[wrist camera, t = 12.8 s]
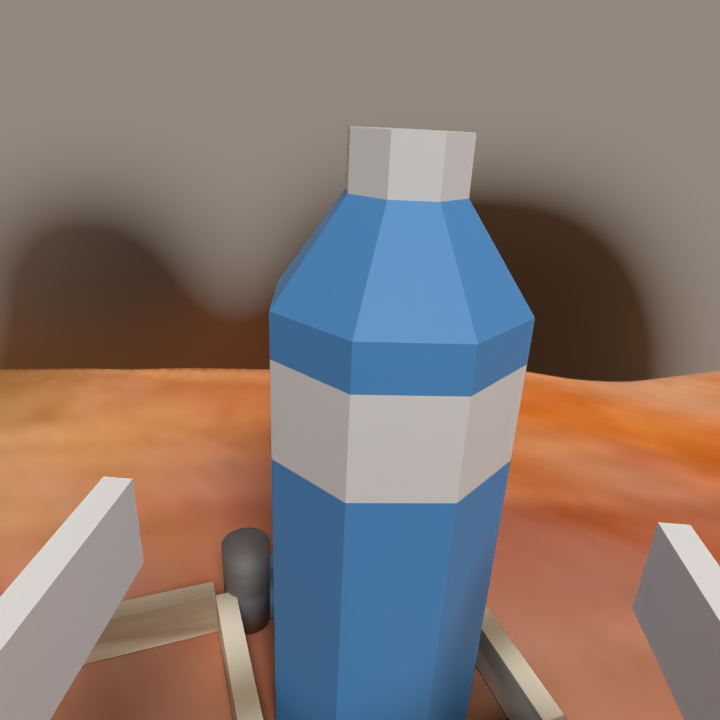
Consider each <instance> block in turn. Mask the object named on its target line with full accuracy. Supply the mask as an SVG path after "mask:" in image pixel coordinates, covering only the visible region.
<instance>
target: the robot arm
mask: <svg viewBox="0 0 720 720" xmlns="http://www.w3.org/2000/svg"><path fill="white" fill-rule="evenodd" d="M143 564H144V561H143V554H142V546H141V538H140V531H139V523H138V515H137V508H136V500H135V492H134V485H133V479H128V478H116V477H103V478H102V479H101V480H100V481H99V483H98V484H97V485H96V486H95V487H94V488H93V490H92V491H91V492H90V493H89V494H88V495H87V497H86V498H85V499H84V500H83V501H82V502H81V503H80V505H79V506H78V507H77V508H76V509H75V510H74V512H73V513H72V514H71V515H70V516H69V517H68V519H67V520H66V521H65V522H64V523H63V524H62V526H61V527H60V528H59V529H58V530H57V531H56V533H55V534H54V535H53V536H52V537H51V538H50V540H49V541H48V542H47V543H46V544H45V545H44V547H43V548H42V549H41V550H40V551H39V552H38V554H37V555H36V556H35V557H34V558H33V559H32V561H31V562H30V563H29V564H28V565H27V566H26V568H25V569H24V570H23V571H22V572H21V573H20V574H19V576H18V577H17V578H16V579H15V580H14V581H13V583H12V584H11V585H10V586H9V587H8V588H7V590H6V591H5V592H4V593H3V594H2V595H1V597H0V720H50V719H51V718H52V716H53V714H54V713H55V711H56V709H57V708H58V706H59V704H60V703H61V701H62V699H63V698H64V696H65V694H66V693H67V691H68V689H69V688H70V686H71V684H72V682H73V681H74V679H75V677H76V676H77V674H78V672H79V671H80V669H81V667H82V666H83V664H84V662H85V661H86V659H87V657H88V656H89V654H90V652H91V651H92V649H93V647H94V646H95V644H96V642H97V641H98V639H99V637H100V636H101V634H102V632H103V631H104V629H105V627H106V626H107V624H108V622H109V621H110V619H111V617H112V616H113V614H114V612H115V611H116V609H117V607H118V606H119V604H120V602H121V601H122V599H123V597H124V596H125V594H126V592H127V591H128V589H129V587H130V586H131V584H132V582H133V581H134V579H135V577H136V576H137V574H138V572H139V571H140V569H141V567H142V566H143ZM632 608H633V610H634V612H635V615H636V617H637V619H638V621H639V623H640V625H641V628H642V630H643V632H644V634H645V636H646V638H647V641H648V643H649V645H650V647H651V649H652V651H653V653H654V656H655V658H656V660H657V662H658V664H659V666H660V669H661V671H662V673H663V675H664V677H665V679H666V682H667V684H668V686H669V688H670V690H671V692H672V695H673V697H674V699H675V701H676V703H677V705H678V707H679V710H680V712H681V714H682V716H683V718H684V720H720V567H719V565H718V564H717V562H716V561H715V559H714V558H713V557H712V555H711V554H710V552H709V551H708V550H707V548H706V547H705V545H704V544H703V542H702V541H701V540H700V538H699V537H698V535H697V534H696V532H695V531H694V530H693V528H692V527H691V525H684V524H672V523H660V522H658V524H657V527H656V531H655V534H654V537H653V541H652V544H651V547H650V551H649V554H648V557H647V561H646V564H645V567H644V571H643V574H642V577H641V581H640V584H639V587H638V591H637V594H636V597H635V601H634V604H633V607H632Z"/></svg>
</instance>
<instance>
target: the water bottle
mask: <svg viewBox="0 0 720 720" xmlns="http://www.w3.org/2000/svg"><path fill="white" fill-rule="evenodd" d="M475 140H476V133H471V132H456V131H438V130H420V129H400V128H379V127H377V128H376V127H353V126H349V127H348V144H347V174H346V189H345V190H344V191H343V193H342V194H341V196H340V197H339V198H338V200H337V201H336V202H335V204H334V205H333V207H332V208H331V209H330V211H329V212H328V214H327V215H326V216H325V218H324V219H323V220H322V222H321V223H320V225H319V226H318V227H317V229H316V230H315V231H314V233H313V234H312V236H311V237H310V238H309V240H308V241H307V242H306V244H305V245H304V246H303V248H302V249H301V251H300V252H299V253H298V255H297V256H296V257H295V259H294V260H293V262H292V263H291V264H290V266H289V267H288V268H287V270H286V271H285V273H284V274H283V275H282V277H281V278H280V279H279V281H278V283H277V286H276V290H275V293H274V297H273V300H272V304H271V307H270V310H269V327H270V389H271V450H272V511H273V572H274V633H275V694H276V720H466V717H467V711H468V705H469V699H470V693H471V688H472V682H473V676H474V670H475V664H476V658H477V653H478V647H479V641H480V635H481V629H482V623H483V618H484V612H485V606H486V600H487V594H488V588H489V583H490V577H491V571H492V565H493V559H494V553H495V548H496V542H497V536H498V530H499V524H500V518H501V513H502V507H503V501H504V495H505V489H506V483H507V478H508V472H509V466H510V460H511V454H512V448H513V443H514V437H515V431H516V425H517V419H518V413H519V408H520V402H521V396H522V390H523V384H524V378H525V373H526V366H527V361H528V355H529V349H530V343H531V338H532V332H533V326H534V320H535V318H534V316H533V314H532V312H531V310H530V308H529V307H528V305H527V303H526V301H525V300H524V298H523V296H522V294H521V292H520V291H519V289H518V287H517V285H516V283H515V281H514V280H513V278H512V276H511V274H510V272H509V270H508V269H507V267H506V265H505V263H504V261H503V260H502V258H501V256H500V254H499V252H498V251H497V249H496V247H495V245H494V243H493V241H492V240H491V238H490V236H489V234H488V232H487V231H486V229H485V227H484V225H483V223H482V221H481V220H480V218H479V216H478V214H477V212H476V211H475V209H474V207H473V205H472V204H471V202H470V200H469V193H470V184H471V175H472V167H473V158H474V149H475Z"/></svg>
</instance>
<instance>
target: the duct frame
mask: <svg viewBox="0 0 720 720" xmlns="http://www.w3.org/2000/svg"><path fill="white" fill-rule="evenodd" d="M222 559H223V575H224V591H225V593H223V594H219V595H216V594H215V589H214V583H213V582H208V583H203V584H199V585H194V586H190V587H185V588H180V589H176V590H171V591H167V592H162V593H157V594H153V595H148V596H144V597H139V598H135V599H130V600H125V601H121V602H120V604H119V606H118V607H117V609H116V611H115V612H114V614H113V616H112V617H111V619H110V621H109V622H108V624H107V626H106V627H105V629H104V631H103V632H102V634H101V636H100V637H99V639H98V641H97V642H96V644H95V646H94V647H93V649H92V651H91V652H90V654H89V656H88V657H87V659H86V661H85V662H84V664H88V663H92V662H96V661H100V660H104V659H108V658H112V657H116V656H120V655H124V654H129V653H133V652H137V651H141V650H145V649H149V648H153V647H157V646H161V645H165V644H169V643H173V642H177V641H181V640H185V639H189V638H193V637H197V636H201V635H205V634H209V633H214V632H218V633H219V639H220V645H221V651H222V657H223V663H224V669H225V676H226V682H227V688H228V694H229V700H230V706H231V712H232V718H233V720H263V716H262V711H261V707H260V702H259V697H258V693H257V688H256V684H255V679H254V674H253V670H252V665H251V660H250V656H249V651H248V647H247V642H246V637H245V635H247V634H253V633H256V632H259V631H260V630H262V629H263V628H265V627H266V626H267V624H268V623H269V621H270V618H274V572H273V554H270V540H269V537H268V535H267V534H266V533H265V532H263V531H262V530H259V529H256V528H241V529H238V530H235V531H233V532H231V533H229V534H228V535H227V536H226V537H225V538H224V540H223V542H222ZM84 664H83V665H84ZM475 665H476V667H477V669H478V670H479V672H480V673H481V675H482V677H483V678H484V680H485V682H486V683H487V685H488V686H489V688H490V690H491V691H492V693H493V695H494V696H495V698H496V699H497V701H498V703H499V704H500V706H501V707H502V709H503V711H504V712H505V714H506V716H507V717H508V719H509V720H568V719H567V718H566V717H565V715H564V714H563V712H562V711H561V710H560V708H559V707H558V705H557V704H556V703H555V701H554V700H553V698H552V697H551V696H550V694H549V693H548V691H547V690H546V689H545V687H544V686H543V684H542V683H541V682H540V680H539V679H538V677H537V676H536V675H535V673H534V672H533V670H532V669H531V668H530V666H529V665H528V663H527V662H526V661H525V659H524V658H523V656H522V655H521V654H520V652H519V651H518V649H517V648H516V647H515V645H514V644H513V642H512V641H511V640H510V638H509V637H508V635H507V634H506V633H505V631H504V630H503V628H502V627H501V626H500V624H499V623H498V621H497V620H496V619H495V617H494V616H493V614H492V613H491V612H490V610H489V609H488V607H487V606H485V612H484V618H483V623H482V629H481V635H480V641H479V647H478V653H477V658H476V664H475Z"/></svg>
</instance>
